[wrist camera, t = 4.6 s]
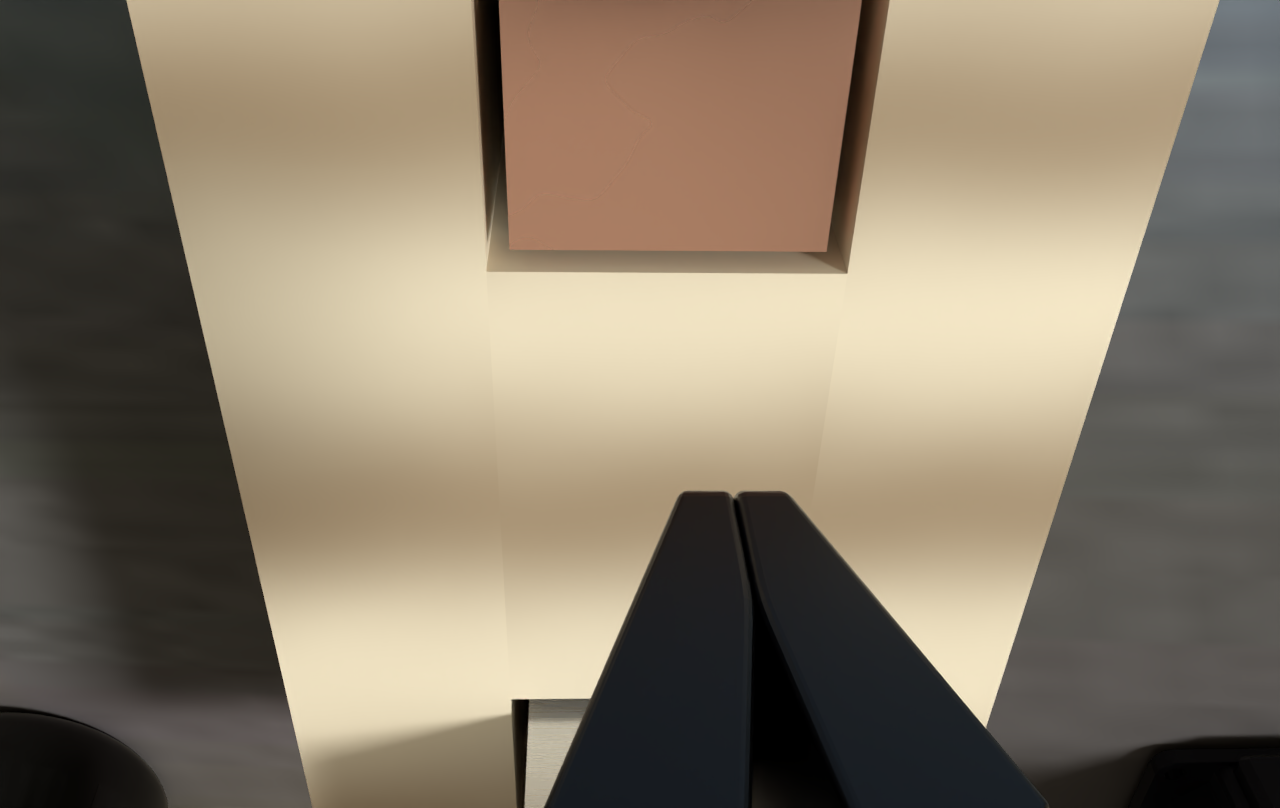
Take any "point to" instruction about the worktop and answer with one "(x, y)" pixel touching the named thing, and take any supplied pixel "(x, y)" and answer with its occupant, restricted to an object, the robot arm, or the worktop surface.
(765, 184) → the peg
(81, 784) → the supplement bottle
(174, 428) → the worktop surface
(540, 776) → the peg
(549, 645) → the socket block
